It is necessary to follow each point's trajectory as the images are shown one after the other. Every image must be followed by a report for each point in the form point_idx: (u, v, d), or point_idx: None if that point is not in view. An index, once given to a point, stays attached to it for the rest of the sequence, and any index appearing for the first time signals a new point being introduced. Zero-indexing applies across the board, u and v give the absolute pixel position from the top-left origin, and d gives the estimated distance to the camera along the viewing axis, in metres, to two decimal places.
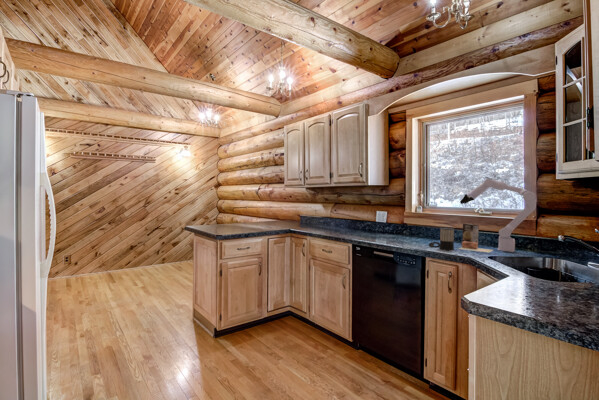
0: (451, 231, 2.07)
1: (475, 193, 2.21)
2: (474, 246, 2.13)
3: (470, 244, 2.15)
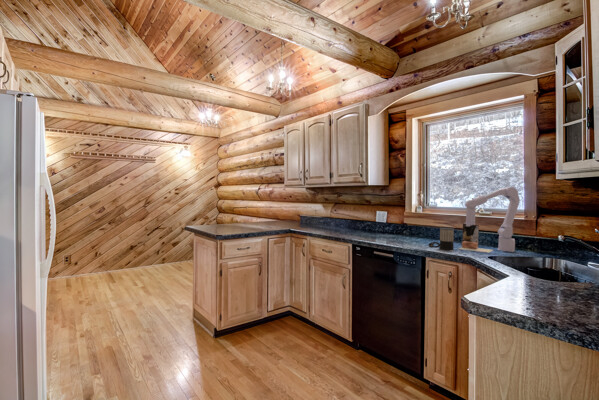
0: (451, 231, 2.07)
1: (470, 219, 2.14)
2: (474, 246, 2.13)
3: (470, 244, 2.15)
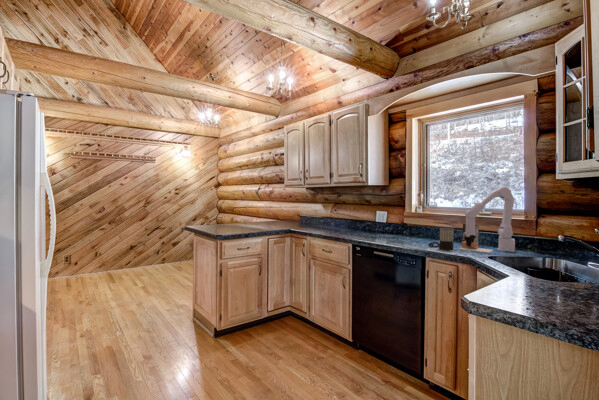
0: (451, 231, 2.07)
1: (470, 229, 2.14)
2: (474, 246, 2.13)
3: None
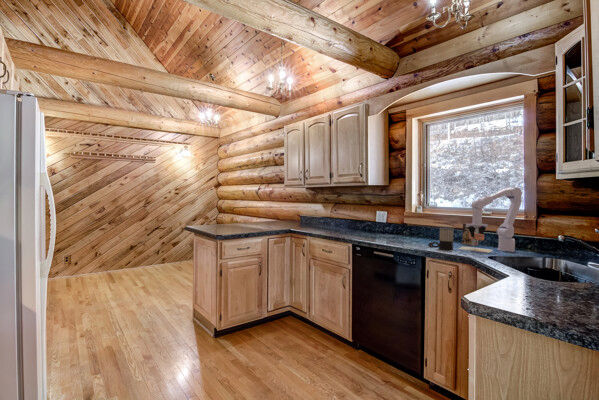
0: (450, 231, 2.07)
1: (473, 220, 2.11)
2: (476, 237, 2.08)
3: None
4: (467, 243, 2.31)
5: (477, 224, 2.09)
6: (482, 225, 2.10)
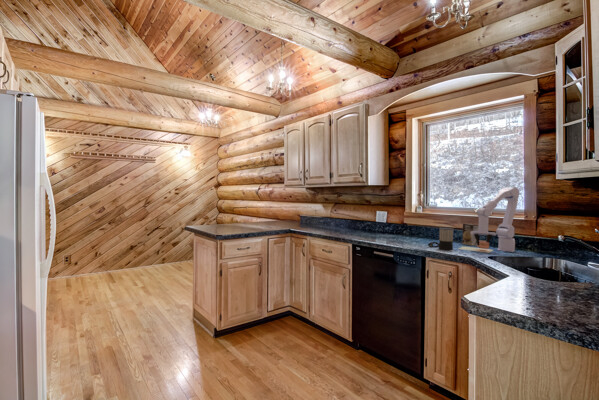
0: (450, 231, 2.07)
1: (479, 228, 2.07)
2: (480, 245, 2.05)
3: (479, 243, 2.07)
4: (467, 243, 2.31)
5: (482, 232, 2.05)
6: (488, 233, 2.04)
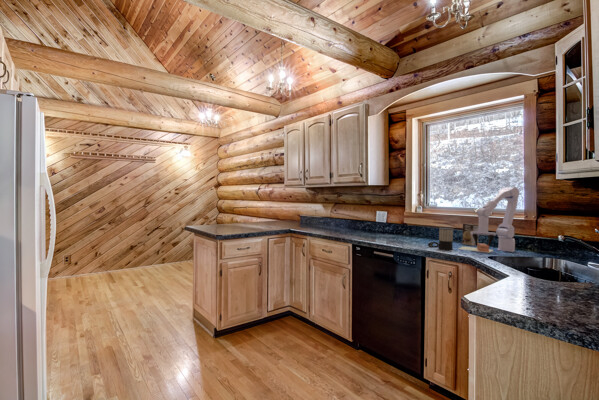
0: (450, 231, 2.07)
1: (479, 228, 2.07)
2: (480, 248, 2.05)
3: (479, 246, 2.07)
4: (467, 243, 2.31)
5: (482, 232, 2.05)
6: (488, 233, 2.04)
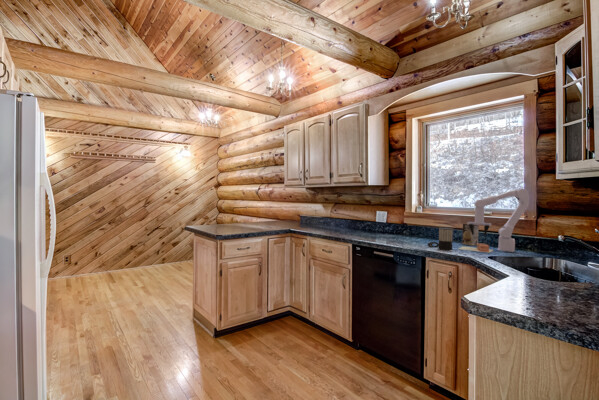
0: (450, 231, 2.07)
1: None
2: (480, 248, 2.05)
3: (479, 246, 2.07)
4: (467, 243, 2.31)
5: (476, 222, 2.16)
6: (482, 224, 2.14)
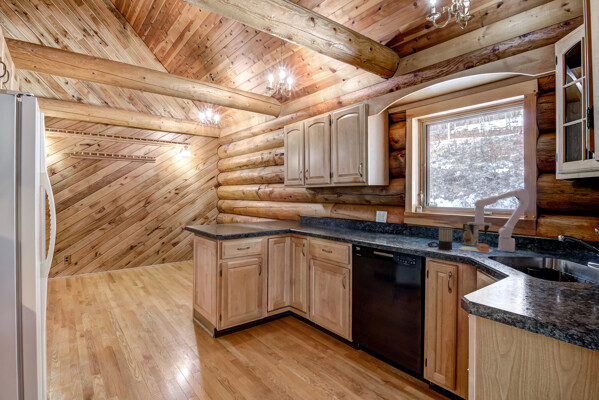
0: (449, 231, 2.07)
1: None
2: (480, 248, 2.05)
3: (479, 246, 2.07)
4: (467, 243, 2.31)
5: (476, 222, 2.16)
6: (482, 224, 2.14)
